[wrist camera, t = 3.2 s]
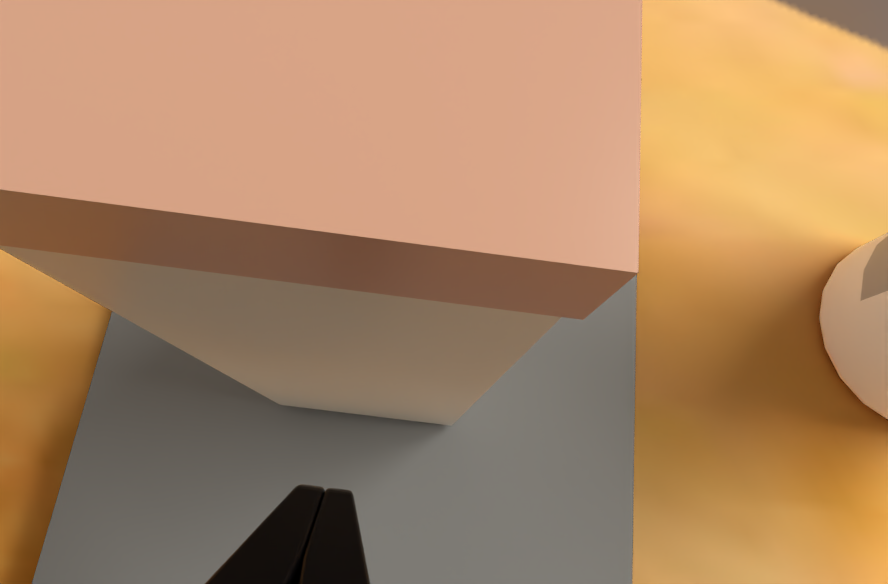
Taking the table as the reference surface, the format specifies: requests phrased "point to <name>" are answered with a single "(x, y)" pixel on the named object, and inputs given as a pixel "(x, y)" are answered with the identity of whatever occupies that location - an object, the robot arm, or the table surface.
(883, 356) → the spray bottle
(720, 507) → the table surface
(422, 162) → the tall rectangular pillar
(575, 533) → the base board
